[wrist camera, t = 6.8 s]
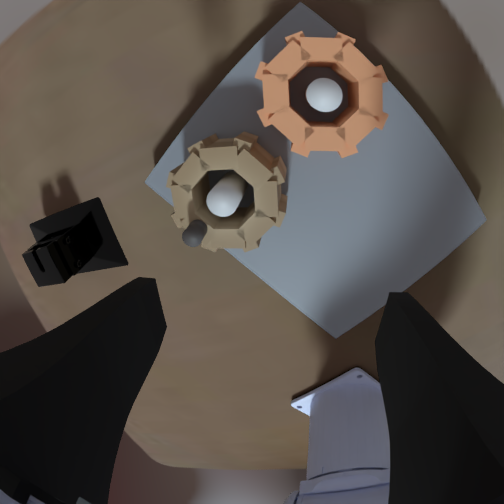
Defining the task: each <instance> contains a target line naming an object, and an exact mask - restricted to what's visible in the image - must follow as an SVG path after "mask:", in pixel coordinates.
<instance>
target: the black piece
mask: <svg viewBox="0 0 504 504" xmlns="http://www.w3.org/2000/svg"><path fill="white" fill-rule="evenodd" d="M30 228H31V230H32V233H33V235H34V237H35V239H36V243H35V244H34V245H32V246H31V247H30V248H29V249H28V250H27V251H26V252H25V253H23V254H22V256H23V258H24V260H25V262H26V264H27V266H28V268H29V270H30V272H31V274H32V276H33V278H34V279H35V281H36V283H37V285H38V287H41V286H48V285H55V284H61V283H65V282H66V281H67V280H68V279H69V278H70V277H71V276H73V275H76V274H78V273H84V272H90V271H95V270H101V269H107V268H113V267H119V266H125V265H128V261H127V259H126V257H125V255H124V253H123V250H122V248H121V246H120V244H119V242H118V240H117V237H116V235H115V233H114V231H113V228H112V226H111V224H110V221H109V219H108V217H107V214H106V212H105V210H104V207H103V205H102V202H101V200H100V198H99V197H97V198H94V199H91V200H89V201H86V202H83V203H81V204H78V205H75V206H73V207H70V208H68V209H65V210H63V211H60V212H58V213H55V214H53V215H50V216H48V217H46V218H43V219H41V220H39V221H36V222H34V223H32V224H30Z"/></svg>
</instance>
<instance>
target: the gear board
mask: <svg viewBox="0 0 504 504" xmlns="http://www.w3.org/2000/svg"><path fill="white" fill-rule="evenodd" d="M300 31H302V32H303V33H304V35H305V37H321V38H335V36H336V34H337V33H338V31H337V30H336V29H335V28H333V27H332V26H331V25H330V24H329V23H327V22H326V21H325V20H324V19H322V18H321V17H320V16H319V15H317V14H316V13H315V12H314V11H312V10H311V9H310V8H308V7H307V6H306V5H304V4H303V3H302V2H299V3H298V4H297V5H296V6H295V7H294V8H293V9H292V10H290V11H289V12H288V13H287V14H286V15H285V16H284V17H283V18H282V19H281V20H280V21H279V22H278V23H277V24H275V25H274V26H273V27H272V28H271V29H270V30H269V31H268V32H267V33H266V34H265V35H264V36H263V37H262V38H261V39H260V40H259V41H258V42H257V43H256V44H255V45H254V46H253V47H252V48H251V50H250V51H249V52H248V53H247V54H246V55H245V56H244V57H243V58H242V59H241V60H240V61H239V62H238V63H237V64H236V66H235V67H234V68H233V69H232V70H231V71H230V72H229V73H228V74H227V76H226V77H225V78H224V79H223V80H222V81H221V82H220V84H219V85H218V86H217V87H216V88H215V89H214V91H213V92H212V93H211V94H210V95H209V97H208V98H207V99H206V100H205V101H204V103H203V104H202V105H201V106H200V108H199V109H198V110H197V111H196V112H195V114H194V115H193V116H192V118H191V119H190V120H189V121H188V123H187V124H186V125H185V127H184V128H183V129H182V130H181V132H180V133H179V134H178V136H177V137H176V138H175V140H174V141H173V142H172V144H171V145H170V147H169V148H168V149H167V151H166V152H165V153H164V155H163V156H162V158H161V159H160V160H159V162H158V163H157V165H156V166H155V168H154V169H153V171H152V172H151V173H150V175H149V176H148V178H147V179H146V181H145V183H146V184H147V185H148V186H149V187H151V188H152V189H153V190H154V191H155V192H157V193H158V194H159V195H160V196H161V197H162V198H164V199H165V200H166V201H167V202H168V203H170V204H171V205H172V206H173V207H174V205H173V199H172V193H171V189H170V188H167V187H166V184H167V180H168V175H169V172H170V171H172V170H173V169H175V168H176V167H178V166H179V165H181V164H182V163H184V162H185V161H186V160H187V159H188V157H189V156H190V155H191V154H190V153H189V151H188V149H187V148H189V147H190V146H192V145H194V144H196V143H198V142H200V141H201V140H203V139H205V138H207V137H209V136H211V135H213V134H215V133H216V135H217V137H218V139H224V138H235V137H236V136H238V135H239V134H241V133H242V132H244V131H245V132H248V133H251V134H254V135H257V136H259V137H258V140H257V143H258V144H259V145H261V146H262V147H263V148H264V149H265V150H266V151H267V152H269V153H270V154H271V155H272V156H273V157H274V158H276V157H278V156H281V158H282V160H283V162H284V164H285V166H286V168H287V172H286V178H285V182H284V183H281V194H284V195H286V196H288V198H287V208H286V214H285V217H284V219H283V221H282V224H281V226H280V228H279V227H277V226H274V225H273V226H272V227H271V228H270V229H269V230H268V231H267V232H266V233H265V234H264V235H263V236H262V237H261V241H260V245H259V248H256V249H253V250H250V251H248V252H244V251H243V249H237V248H224V249H225V250H226V251H228V252H229V253H230V254H231V255H232V256H234V257H235V258H236V259H237V260H238V261H240V262H241V263H242V264H243V265H245V266H246V267H247V268H248V269H250V270H251V271H252V272H253V273H254V274H256V275H257V276H258V277H259V278H261V279H262V280H263V281H264V282H265V283H267V284H268V285H269V286H270V287H272V288H273V289H274V290H275V291H277V292H278V293H279V294H280V295H282V296H283V297H284V298H285V299H287V300H288V301H289V302H290V303H291V304H293V305H294V306H295V307H296V308H298V309H299V310H300V311H301V312H303V313H304V314H305V315H306V316H308V317H309V318H310V319H311V320H313V321H314V322H315V323H316V324H318V325H319V326H320V327H321V328H323V329H324V330H325V331H326V332H328V333H329V334H330V335H332V336H333V337H334V338H335V339H336V338H338V337H339V336H341V335H342V334H344V333H345V332H347V331H348V330H350V329H351V328H353V327H354V326H356V325H357V324H359V323H360V322H362V321H363V320H364V319H366V318H367V317H369V316H370V315H372V314H373V313H374V312H376V311H377V310H379V309H380V308H381V307H383V306H384V305H386V303H387V299H388V295H389V292H403V291H404V290H406V289H407V288H408V287H410V286H411V285H412V284H413V283H415V282H416V281H417V280H418V279H420V278H421V277H422V276H423V275H425V274H426V273H427V272H428V271H430V270H431V269H432V268H433V267H435V266H436V265H437V264H438V263H439V262H441V261H442V260H443V259H444V258H445V257H446V256H448V255H449V254H450V253H451V252H452V251H453V250H455V249H456V248H457V247H458V246H459V245H460V244H461V243H462V242H464V241H465V240H466V239H467V238H468V237H469V236H470V235H471V234H472V233H473V232H475V231H476V230H477V229H478V228H479V227H480V226H481V225H482V224H483V223H484V222H485V221H486V218H485V216H484V214H483V212H482V210H481V208H480V206H479V205H478V203H477V201H476V199H475V197H474V196H473V194H472V192H471V190H470V189H469V187H468V185H467V184H466V182H465V180H464V179H463V177H462V176H461V174H460V172H459V171H458V169H457V168H456V166H455V165H454V163H453V162H452V160H451V159H450V157H449V156H448V154H447V153H446V151H445V150H444V148H443V147H442V146H441V144H440V143H439V141H438V140H437V139H436V137H435V136H434V134H433V133H432V132H431V130H430V129H429V128H428V126H427V125H426V124H425V123H424V121H423V120H422V119H421V117H420V116H419V115H418V114H417V112H416V111H415V110H414V109H413V108H412V106H411V105H410V104H409V103H408V102H407V100H406V99H405V98H404V97H403V96H402V95H401V93H400V92H399V91H398V90H397V89H396V88H395V87H394V86H393V84H392V83H391V82H390V81H389V80H388V82H385V83H382V89H383V112H385V113H387V114H389V116H388V118H387V120H386V122H385V125H384V127H383V129H382V130H380V129H378V128H376V127H375V128H374V129H373V130H372V131H371V132H370V133H369V134H368V135H367V136H366V137H364V138H363V139H362V140H361V141H360V142H359V143H358V144H357V145H356V148H357V150H358V153H355V154H352V155H350V156H347V157H344V158H341V157H340V155H339V154H338V152H337V151H310V153H309V155H308V158H307V157H305V156H302V155H300V154H297V153H295V152H292V151H290V150H291V141H290V140H289V139H288V138H287V137H286V136H285V135H284V134H282V133H281V132H280V131H279V130H278V129H277V128H276V127H275V126H274V125H272V124H271V125H269V126H267V127H264V125H263V123H262V121H261V119H260V117H259V115H258V113H257V111H258V110H260V109H263V108H264V99H263V83H262V81H261V80H259V79H256V78H254V77H255V75H256V72H257V69H258V67H259V64H260V62H265V63H268V64H269V63H270V62H271V61H272V60H273V59H274V58H275V57H276V56H277V55H278V54H279V53H280V52H281V51H282V50H283V49H284V48H285V47H286V46H287V45H286V41H285V37H287V36H290V35H292V34H295V33H298V32H300ZM353 46H354V45H353ZM370 62H371V61H370ZM371 63H372V62H371ZM372 64H373V63H372ZM373 65H374V64H373ZM290 102H291V106H292V107H293V108H294V109H295V110H296V111H298V112H299V113H300V114H301V115H302V116H303V117H304V118H305V119H306V120H307V121H315V122H332V121H333V120H334V119H335V118H336V117H337V116H338V115H340V114H341V113H342V112H343V111H344V110H345V109H346V108H347V107H348V86H347V83H346V82H345V81H344V80H343V79H342V78H341V77H340V76H339V75H338V74H337V73H336V72H334V71H333V70H332V69H331V68H330V67H305V68H304V69H303V70H302V71H301V72H300V73H299V74H298V75H297V76H296V77H295V78H294V79H293V80H292V81H291V82H290ZM208 175H209V184H210V192H209V193H208V195H207V200H206V201H207V206H208V208H209V210H210V211H211V212H212V213H213V214H215V215H217V216H220V217H226V216H230V215H231V214H233V213H234V212H235V210H236V209H237V207H249V206H250V205H251V204H252V203H253V202H254V187H253V186H252V185H251V184H249V183H248V182H247V181H246V180H245V179H244V178H243V177H241V176H240V175H239V174H238V173H237V172H236V171H234V170H233V169H228V170H211V171H210V172H209V173H208Z"/></svg>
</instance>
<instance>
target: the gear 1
mask: <svg viewBox="0 0 504 504" xmlns="http://www.w3.org/2000/svg"><path fill="white" fill-rule="evenodd" d="M258 137H259V136H257V135H254V134H251V133H248V132H245V131H244V132H242V133H241V134H239V135H238V136H236V137H235V138H224V139H218V137H217V135H216V133H215V134H213V135H211V136H209V137H207V138H205V139H203V140H201V141H200V142H198V143H196V144H194V145H192V146H190V147H189V148H187V149H188V151H189V153H190V154H191V155H190V156H189V157H188V159H187V160H186V161H185V162H184V163H182V164H181V165H179V166H178V167H176V168H175V169H173V170H172V171H170V172H169V175H168V180H167V184H166V187H167V188H170V189H171V193H172V199H173V205H174V212H173V214H172V215H171V217H172V218H173V220H174V222H175V223H176V225H177V227H178V228H181V227H183V228H184V229H185V231H184V232H183V234H182V239H183V241H184V243H185V244H187V245H188V246H190V247H196V246H198V245H199V244H200V243H202V246H201V247H202V248H205V249H208V250H210V251H213V252H216V251H217V249H218V248H237V249H243V251H244V252H248V251H250V250H253V249H256V248H259V245H260V241H261V237H262V236H263V235H264V234H265V233H266V232H267V231H268V230H269V229H270V228H271V227H272V226H273V225H274V226H277V227H279V228H280V226H281V224H282V221H283V219H284V217H285V214H286V208H287V198H288V196H286V195H284V194H281V183H284V182H285V178H286V172H287V168H286V166H285V164H284V162H283V160H282V158H281V156H278V157H276V158H274V157H273V156H272V155H271V154H270V153H269V152H267V151H266V150H265V149H264V148H263V147H262V146H261V145H259V144H258V143H257V140H258ZM228 169H233V170H234V171H236V172H237V173H238V174H239V175H240V176H241V177H243V178H244V179H245V180H246V181H247V182H248V183H249V184H251V185H252V186H253V187H254V202H253V203H252V204H251V205H250V206H249V207H237V209H236V210H235V212H234V213H233V214H231V215H230V216H226V217H220V216H217V215H215V214H213V213H212V212H211V211H210V210H209V208H208V206H207V201H206V200H207V195H208V193H209V192H210V184H209V175H208V173H209V172H210V171H211V170H228Z"/></svg>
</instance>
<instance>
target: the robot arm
mask: <svg viewBox="0 0 504 504" xmlns="http://www.w3.org/2000/svg"><path fill="white" fill-rule="evenodd" d="M166 328H167V325H166V322H165V318H164V314H163V310H162V306H161V301H160V297H159V293H158V289H157V284H156V280H155V279H154V278H143V277H138V278H136V279H134V280H132V281H131V282H129V283H127V284H126V285H124V286H122V287H121V288H119V289H117V290H116V291H114V292H113V293H111V294H110V295H108V296H107V297H105V298H104V299H102V300H100V301H99V302H97V303H96V304H94V305H93V306H91V307H90V308H88V309H87V310H85V311H83V312H82V313H80V314H78V315H77V316H75V317H73V318H72V319H70V320H68V321H67V322H65V323H64V324H62V325H60V326H58V327H57V328H55V329H53V330H51V331H49V332H47V333H45V334H43V335H41V336H39V337H37V338H36V339H33V340H31V341H29V342H27V343H24V344H22V345H19V346H17V347H14V348H12V349H9V350H7V351H4V352H2V353H0V504H108V496H109V488H110V483H111V478H112V473H113V468H114V463H115V458H116V455H117V451H118V447H119V443H120V440H121V437H122V434H123V430H124V427H125V424H126V421H127V418H128V415H129V413H130V410H131V408H132V406H133V403H134V401H135V399H136V397H137V395H138V393H139V391H140V389H141V387H142V385H143V383H144V381H145V379H146V377H147V375H148V373H149V371H150V369H151V367H152V365H153V363H154V361H155V358H156V356H157V354H158V352H159V349H160V346H161V343H162V341H163V337H164V334H165V331H166ZM375 348H376V360H377V370H378V376H379V381H380V383H379V382H378V381H377V380H375V379H374V378H373V377H371V376H370V375H369V374H367V373H366V372H365V371H363V370H362V369H360V368H353V369H352V370H350V371H348V372H346V373H344V374H343V375H341V376H339V377H337V378H335V379H334V380H332V381H330V382H328V383H326V384H324V385H322V386H320V387H318V388H316V389H314V390H313V391H311V392H309V393H307V394H305V395H302V396H300V397H298V398H296V399H294V400H292V401H291V406H292V407H294V408H296V409H298V410H299V411H301V412H303V413H305V414H307V415H309V416H310V425H309V447H308V464H307V479H306V481H301V482H300V490H296V491H293V492H292V493H291V494H290V496H288V498H286V500H285V501H284V503H283V504H504V384H503V383H502V382H500V381H499V380H498V379H497V378H496V377H494V376H493V375H492V374H491V373H490V372H488V371H487V370H486V369H485V368H484V367H482V366H481V365H480V364H479V363H478V362H477V361H476V360H475V359H474V358H473V357H472V356H471V355H469V354H468V353H467V352H466V351H465V350H464V349H463V348H462V347H461V346H460V345H459V344H458V343H457V342H456V341H455V340H454V339H453V338H452V337H451V336H450V335H449V334H448V333H447V332H446V331H445V330H444V329H443V328H442V327H441V326H440V325H439V323H438V322H437V321H436V320H435V319H434V318H433V317H432V316H431V315H430V314H429V313H428V312H427V311H426V310H425V309H424V308H423V307H422V306H421V305H420V304H419V303H418V302H417V301H416V300H415V299H414V298H413V297H412V296H411V295H410V294H409V293H408V292H389V295H388V299H387V303H386V306H385V310H384V313H383V317H382V320H381V323H380V327H379V330H378V333H377V336H376V340H375Z"/></svg>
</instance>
